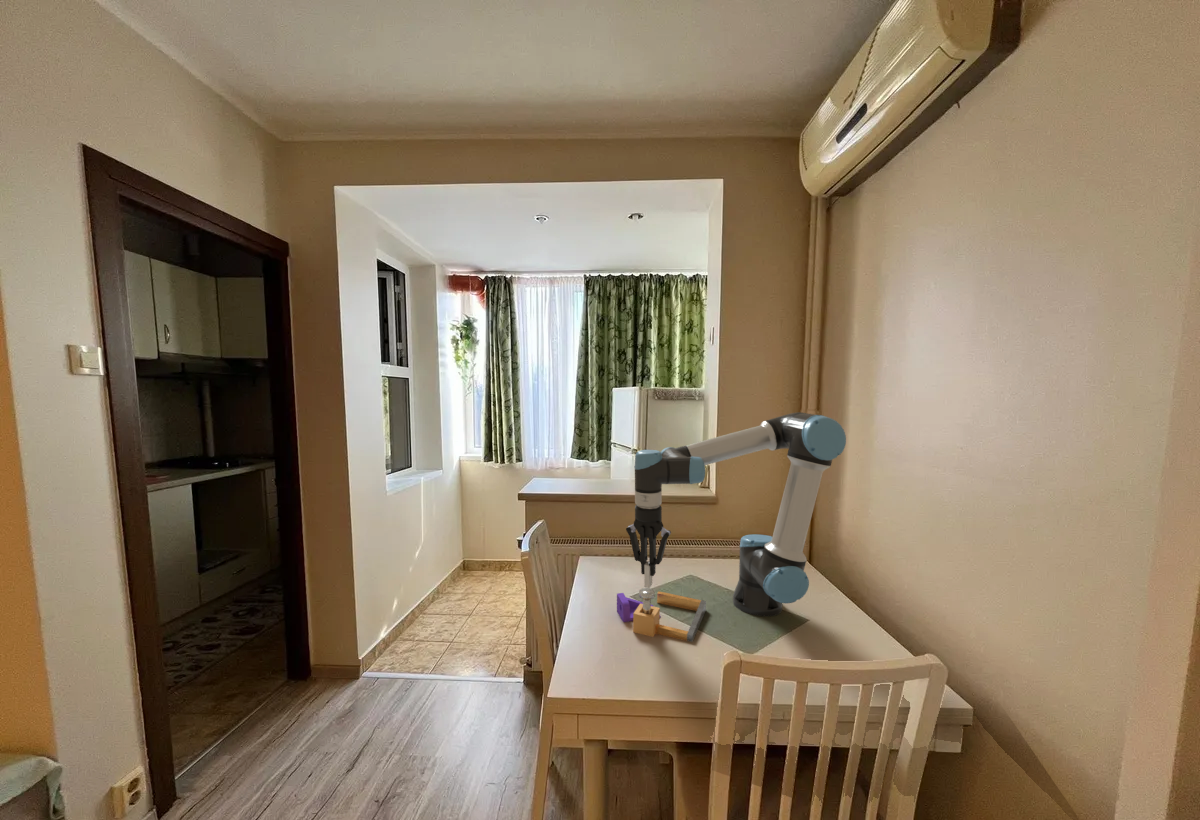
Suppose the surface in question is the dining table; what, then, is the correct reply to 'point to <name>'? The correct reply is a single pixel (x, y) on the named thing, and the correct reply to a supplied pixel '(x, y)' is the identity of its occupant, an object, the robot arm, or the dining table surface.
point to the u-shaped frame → (687, 604)
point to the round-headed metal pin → (646, 599)
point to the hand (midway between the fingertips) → (648, 585)
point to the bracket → (627, 607)
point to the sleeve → (646, 621)
